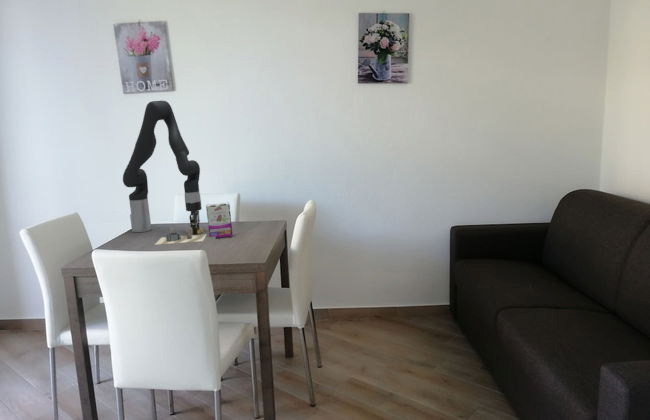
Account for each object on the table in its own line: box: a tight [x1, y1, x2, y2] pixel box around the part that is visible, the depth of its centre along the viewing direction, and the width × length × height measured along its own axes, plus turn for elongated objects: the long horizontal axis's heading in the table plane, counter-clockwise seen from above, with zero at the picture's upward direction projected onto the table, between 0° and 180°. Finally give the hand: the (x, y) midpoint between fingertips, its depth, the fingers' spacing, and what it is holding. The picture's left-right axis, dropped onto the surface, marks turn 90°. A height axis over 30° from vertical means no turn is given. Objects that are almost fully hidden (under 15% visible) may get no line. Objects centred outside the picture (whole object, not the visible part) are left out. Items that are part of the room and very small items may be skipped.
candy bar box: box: [205, 202, 233, 239], centre depth 227 cm, size 11×5×16 cm, turn 105°
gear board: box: [154, 225, 208, 246], centre depth 222 cm, size 22×14×7 cm, turn 96°
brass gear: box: [191, 227, 204, 235], centre depth 235 cm, size 6×6×3 cm
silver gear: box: [165, 231, 182, 242], centre depth 222 cm, size 6×6×3 cm
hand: (196, 233), depth 235 cm, fingers closed on brass gear, 6 cm apart
